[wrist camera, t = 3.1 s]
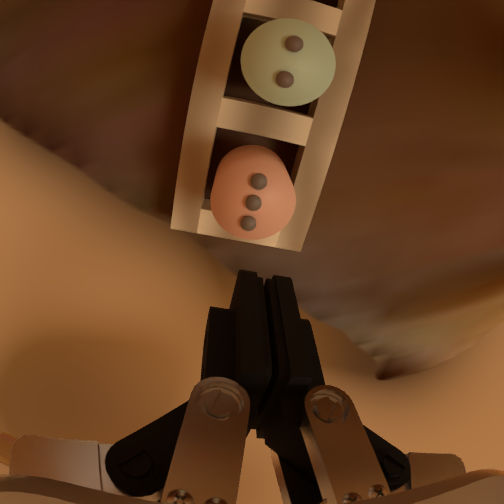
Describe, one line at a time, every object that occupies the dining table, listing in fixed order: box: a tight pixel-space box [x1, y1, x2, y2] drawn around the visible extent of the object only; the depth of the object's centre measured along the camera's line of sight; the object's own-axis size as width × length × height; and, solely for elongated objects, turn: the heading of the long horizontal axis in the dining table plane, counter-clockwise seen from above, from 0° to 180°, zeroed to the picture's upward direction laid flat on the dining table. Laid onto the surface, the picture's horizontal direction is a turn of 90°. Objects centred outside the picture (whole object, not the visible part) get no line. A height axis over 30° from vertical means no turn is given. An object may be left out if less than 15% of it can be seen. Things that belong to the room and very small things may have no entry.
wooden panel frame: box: [171, 0, 376, 252], centre depth 18 cm, size 10×26×2 cm, turn 167°
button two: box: [241, 18, 336, 106], centre depth 15 cm, size 5×5×4 cm
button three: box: [210, 145, 296, 240], centre depth 19 cm, size 5×5×4 cm
